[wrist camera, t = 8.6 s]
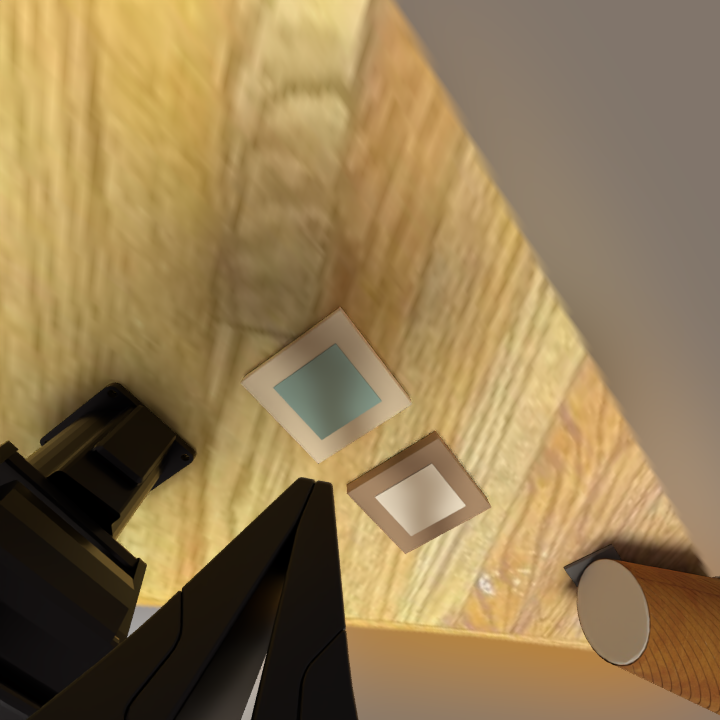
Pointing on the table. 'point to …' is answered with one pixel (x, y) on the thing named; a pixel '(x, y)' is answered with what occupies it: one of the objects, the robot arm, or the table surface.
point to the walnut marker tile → (418, 494)
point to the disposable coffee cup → (655, 625)
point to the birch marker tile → (327, 387)
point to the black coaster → (579, 566)
